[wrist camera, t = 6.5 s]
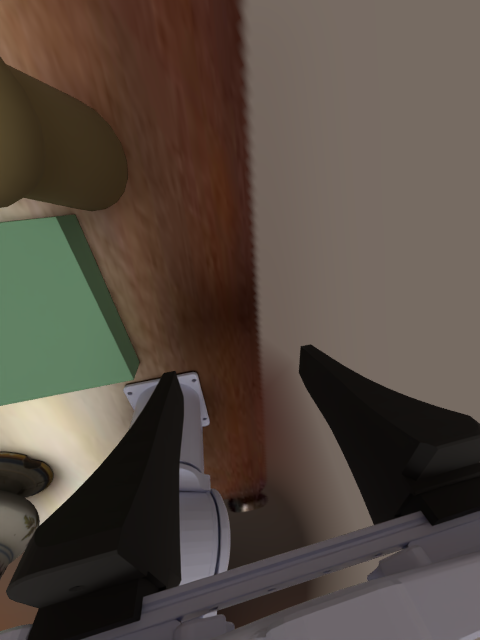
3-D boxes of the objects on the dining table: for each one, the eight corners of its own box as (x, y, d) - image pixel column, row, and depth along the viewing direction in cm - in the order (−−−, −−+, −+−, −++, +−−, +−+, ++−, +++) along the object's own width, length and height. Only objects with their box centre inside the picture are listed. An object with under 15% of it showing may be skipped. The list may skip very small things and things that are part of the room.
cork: (62, 64, 12) (-442, -446, 2) (147, 174, 15) (66, 131, 5) (-6, 141, 13) (-561, -18, 3) (87, 229, 16) (-71, 274, 6)
